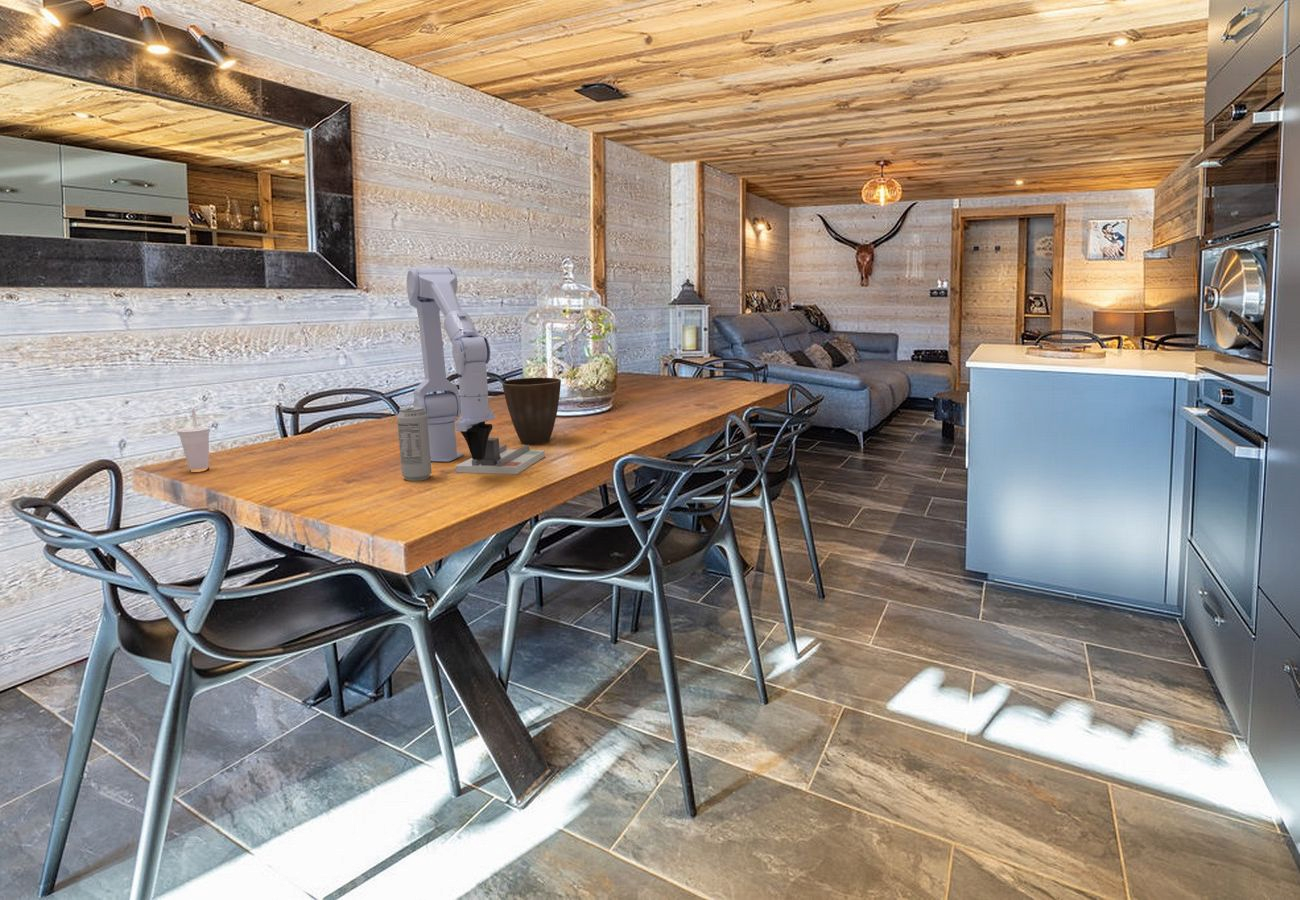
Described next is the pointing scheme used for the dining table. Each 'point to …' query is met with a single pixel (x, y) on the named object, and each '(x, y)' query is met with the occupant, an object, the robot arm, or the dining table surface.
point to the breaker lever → (491, 452)
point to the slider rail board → (504, 462)
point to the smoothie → (195, 445)
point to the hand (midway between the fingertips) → (478, 459)
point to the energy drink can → (414, 443)
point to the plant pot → (533, 407)
